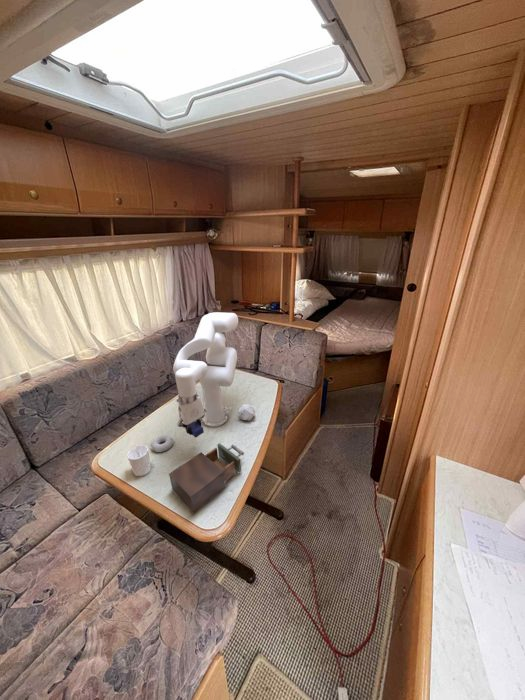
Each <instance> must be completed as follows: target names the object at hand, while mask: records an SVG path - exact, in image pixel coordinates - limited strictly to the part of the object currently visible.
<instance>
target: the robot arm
mask: <svg viewBox="0 0 525 700" xmlns="http://www.w3.org/2000/svg"><path fill="white" fill-rule="evenodd" d="M238 325H239V316H238V315H237V314H236V313H235V312H221V311H220V312H217V311H215V312H209V313H207V314H204V315H203V316H202V317H201V319H200V322H199V324H198V327H197V330H196V332H195V334H194V337H193V339H192V340H190V341H188V342H187V343H186V344H185V345H183V346H182V347H181V348H180V350H179V351H178V353H177V354H176V357H175V360H174V363H173V368H172V369H173V375H174V378H175V383H176V388H177V389H176V390H177V393H178V398H176V403H177V406H178V409H177V411H178V417H179V418H178V421H177V423H176V426H177V427H178V428H184V429H185V428H186V429H185V432H186V434H188V435H190V436H193V435H192V431H191V427H190V423H192V422H194V421H196V422H197V423H198V424H199V425H201V426H202V427H203V424H202V422H203V423H204V425H206V426H207V427H211V428H216V427H219V426H222V425H223V424H225V423H226V422H227V420H228V415H227V412H230V411H231V409H232V408H231V406H228V407H226V406H224V401H223V392H222V388H221V387H224V388H225V387H228V388H229V387H231V386H232V385H233V382H234V379H235V373H236V368H237V363H238V352H237V349H236V348H234V347H231V346H226V342H227V337H226V336H225V334H224V333H230V332H232V331H234V330H235V329H237V328H238ZM205 350H206V354H205V361H206V362H205V361H202V360H192V359H189V358H190V357H192V356H193V355H194V354H197V353H199V352H200V353H201V352H202V351H205ZM207 364H209V365H207ZM197 382H199V384H200V387H201V392H202V398H201V396H200V395H199V394H198V388H197ZM202 399H203V401H202ZM203 403H204V404H203Z"/></svg>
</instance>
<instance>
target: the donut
mask: <svg viewBox="0 0 525 700" xmlns="http://www.w3.org/2000/svg"><path fill="white" fill-rule="evenodd" d="M173 443H174V438H173V437H172V436H171V435H169V434H159V435H158V436H156V437H155V438H153V439H152V441H151V444H150V448H151V450H153V451H154V452H155V453H162V452H166V451H167V450H169V449H170V448H171V447H172V446H173Z"/></svg>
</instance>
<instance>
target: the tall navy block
mask: <svg viewBox="0 0 525 700" xmlns="http://www.w3.org/2000/svg"><path fill="white" fill-rule="evenodd" d="M190 427H191V431H192V435H191V436H193V437H194V438H198V437H199V436H202V435H203V434H204V433H205V430H204V427H203V425H202V426H201V425H199V424H198V423H197V422H196V420H195V421H194V422H192V423H190ZM184 429H185V430H186V428H184Z"/></svg>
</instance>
